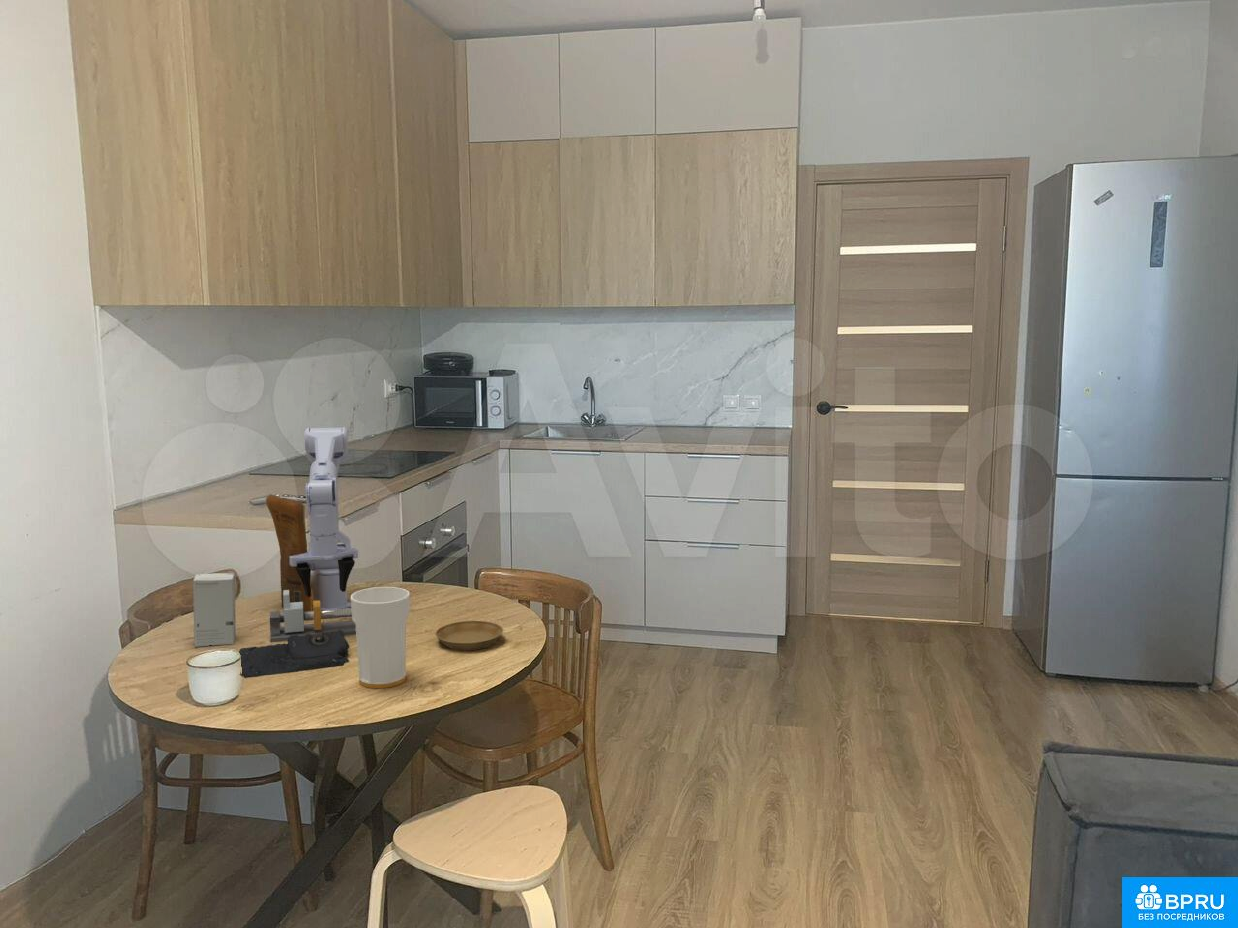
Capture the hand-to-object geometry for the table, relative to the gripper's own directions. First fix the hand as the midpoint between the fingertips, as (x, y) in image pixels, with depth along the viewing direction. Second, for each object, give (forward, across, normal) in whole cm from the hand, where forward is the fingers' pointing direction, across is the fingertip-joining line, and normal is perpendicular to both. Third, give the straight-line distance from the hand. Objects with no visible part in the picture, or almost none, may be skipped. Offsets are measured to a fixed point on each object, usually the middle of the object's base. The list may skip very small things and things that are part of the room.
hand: (325, 593), depth 213 cm
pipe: (+10, +2, +2) cm, 10 cm away
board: (+10, +2, +2) cm, 10 cm away
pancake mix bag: (+10, -1, +22) cm, 24 cm away
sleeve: (+8, -6, +4) cm, 11 cm away
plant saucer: (+10, +25, -20) cm, 34 cm away
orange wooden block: (+8, -1, +3) cm, 9 cm away
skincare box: (+10, -22, +8) cm, 25 cm away
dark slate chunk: (+10, -10, -12) cm, 19 cm away
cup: (+10, +2, -32) cm, 34 cm away
